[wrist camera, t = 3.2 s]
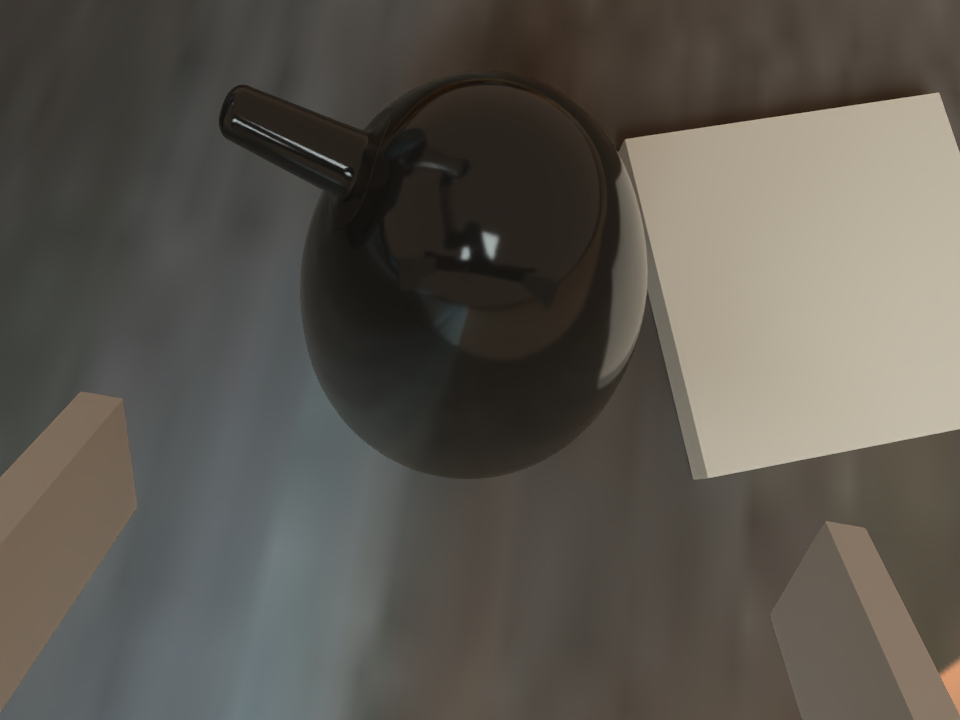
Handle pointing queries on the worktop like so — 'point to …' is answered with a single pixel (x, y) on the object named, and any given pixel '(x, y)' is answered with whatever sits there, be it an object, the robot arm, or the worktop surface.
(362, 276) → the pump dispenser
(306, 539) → the worktop surface
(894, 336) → the tile pad
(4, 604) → the robot arm
